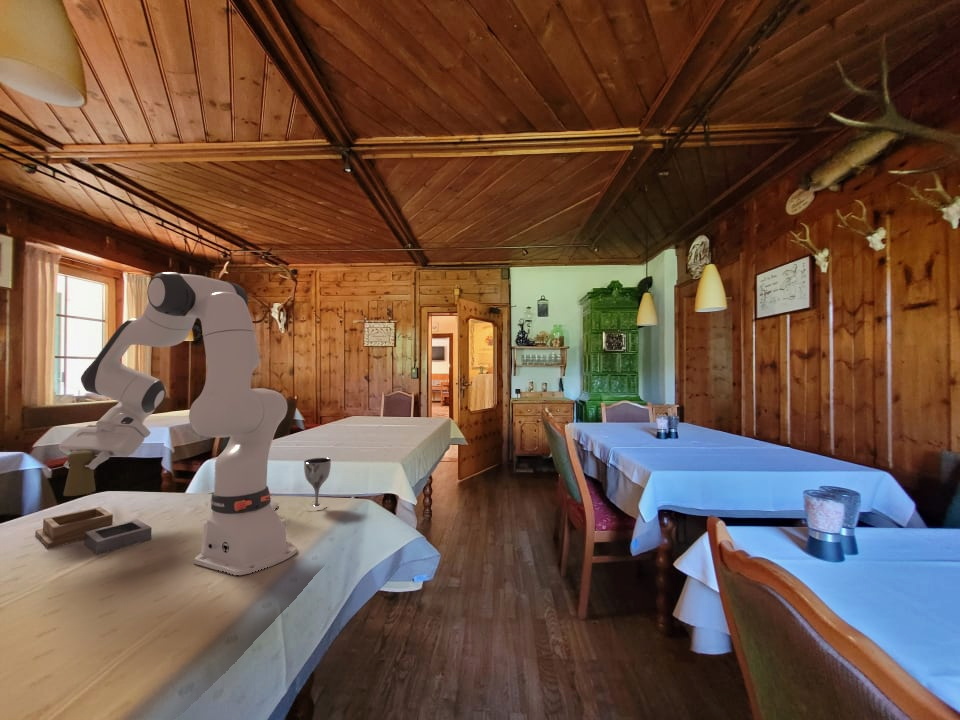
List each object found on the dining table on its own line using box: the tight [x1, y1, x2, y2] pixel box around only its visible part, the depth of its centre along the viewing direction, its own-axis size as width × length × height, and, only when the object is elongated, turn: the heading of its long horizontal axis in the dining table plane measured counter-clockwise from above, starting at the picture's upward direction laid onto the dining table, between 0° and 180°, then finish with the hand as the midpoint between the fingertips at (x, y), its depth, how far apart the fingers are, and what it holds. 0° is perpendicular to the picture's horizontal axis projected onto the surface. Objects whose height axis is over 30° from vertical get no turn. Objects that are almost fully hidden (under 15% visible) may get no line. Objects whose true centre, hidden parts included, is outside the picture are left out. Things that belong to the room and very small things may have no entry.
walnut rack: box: [34, 506, 117, 549], centre depth 103 cm, size 14×13×4 cm
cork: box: [63, 450, 97, 497], centre depth 103 cm, size 6×6×11 cm
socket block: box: [83, 519, 152, 556], centre depth 97 cm, size 10×10×3 cm
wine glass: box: [303, 457, 332, 507], centre depth 123 cm, size 8×8×15 cm
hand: (78, 467), depth 102 cm, fingers closed on cork, 5 cm apart
